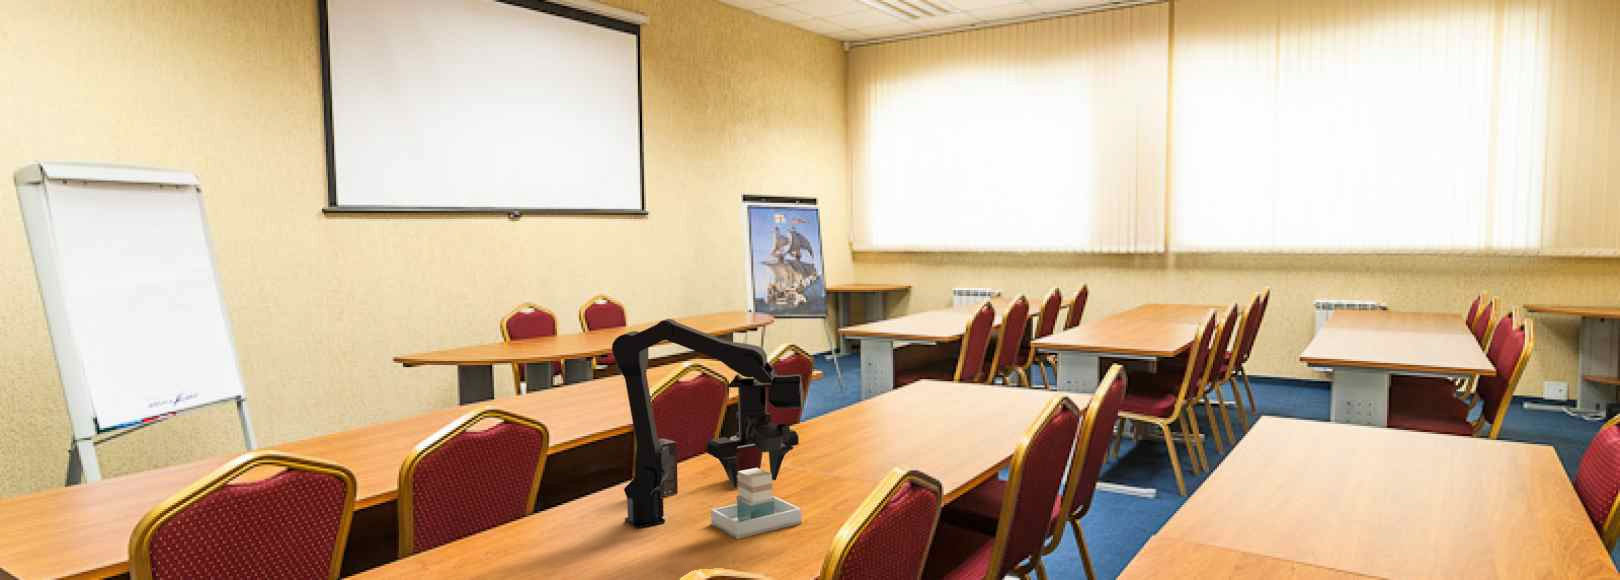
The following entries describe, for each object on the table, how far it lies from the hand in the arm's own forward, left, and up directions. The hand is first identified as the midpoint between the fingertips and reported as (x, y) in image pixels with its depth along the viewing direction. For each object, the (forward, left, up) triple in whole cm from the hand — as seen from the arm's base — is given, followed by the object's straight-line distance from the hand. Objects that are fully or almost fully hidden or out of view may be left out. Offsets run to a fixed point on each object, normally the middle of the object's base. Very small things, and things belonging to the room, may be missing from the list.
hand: (754, 483), depth 180 cm
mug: (+14, +29, -8) cm, 33 cm away
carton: (0, 0, -3) cm, 3 cm away
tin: (0, 0, -8) cm, 8 cm away
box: (-6, +32, -8) cm, 33 cm away
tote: (0, 0, -8) cm, 8 cm away
